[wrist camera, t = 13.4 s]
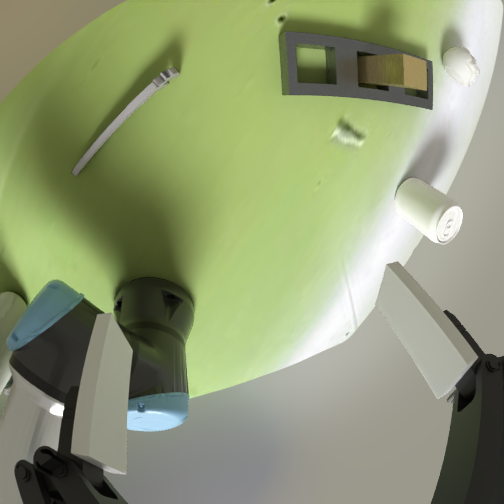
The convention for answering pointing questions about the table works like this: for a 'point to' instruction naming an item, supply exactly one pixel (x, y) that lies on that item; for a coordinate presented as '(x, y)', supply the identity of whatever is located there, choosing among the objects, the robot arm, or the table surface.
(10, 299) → the glass bottle
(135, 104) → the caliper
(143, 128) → the table surface
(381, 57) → the wooden peg
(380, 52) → the grey slotted holder
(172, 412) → the robot arm
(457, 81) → the white rounded lump
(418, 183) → the beverage can
